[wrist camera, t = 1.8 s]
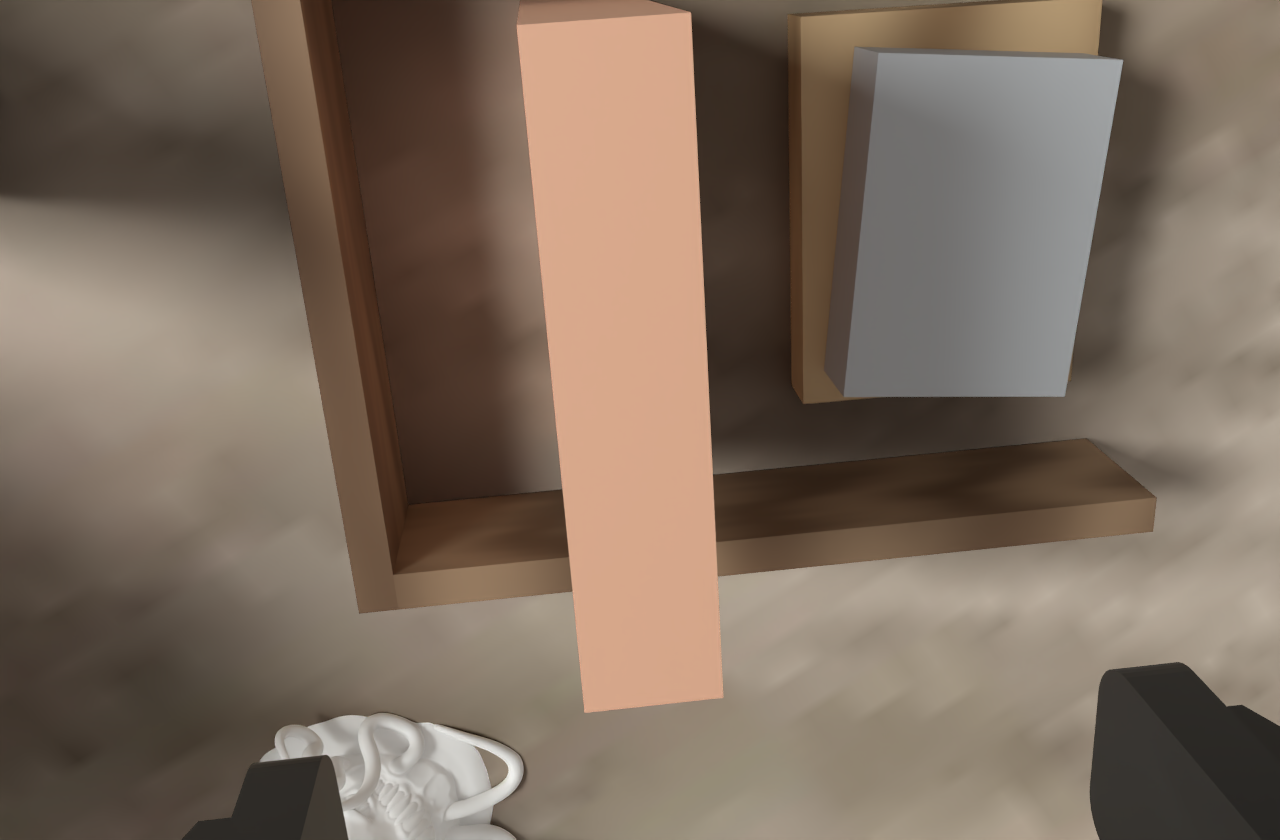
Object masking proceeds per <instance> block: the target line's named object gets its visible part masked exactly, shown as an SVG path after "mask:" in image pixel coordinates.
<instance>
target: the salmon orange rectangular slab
mask: <svg viewBox="0 0 1280 840" xmlns="http://www.w3.org/2000/svg"><path fill="white" fill-rule="evenodd" d="M517 35H518V45H519V55H520V65H521V75H522V85H523V95H524V105H525V115H526V125H527V136H528V146H529V156H530V166H531V176H532V186H533V196H534V206H535V216H536V227H537V237H538V247H539V257H540V267H541V277H542V287H543V297H544V307H545V317H546V328H547V338H548V348H549V358H550V368H551V378H552V388H553V398H554V408H555V419H556V429H557V439H558V449H559V459H560V469H561V479H562V489H563V499H564V509H565V520H566V530H567V540H568V550H569V560H570V570H571V580H572V590H573V600H574V611H575V621H576V631H577V641H578V651H579V661H580V671H581V681H582V691H583V701H584V712H585V713H588V712H597V711H606V710H615V709H624V708H633V707H643V706H652V705H661V704H670V703H679V702H688V701H697V700H707V699H716V698H723V681H722V659H721V638H720V617H719V596H718V575H717V553H716V532H715V511H714V490H713V469H712V447H711V426H710V405H709V384H708V363H707V341H706V320H705V299H704V278H703V256H702V235H701V214H700V193H699V172H698V150H697V129H696V108H695V87H694V66H693V44H692V23H691V12H688V11H685V10H681V9H677V8H674V7H670V6H667V5H663V4H660V3H656V2H653V1H649V0H520V6H519V13H518V19H517Z"/></svg>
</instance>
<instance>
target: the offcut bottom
mask: <svg viewBox="0 0 1280 840" xmlns="http://www.w3.org/2000/svg"><path fill="white" fill-rule="evenodd" d="M1101 11H1102V0H999V1H983V2H968V3H953V4H937V5H922V6H907V7H891V8H876V9H861V10H845V11H830V12H815V13H799V14H788V99H789V191H790V284H791V376H792V387H793V388H794V390H795V392H796V393H797V395H798V396H799V398H800V400H801V401H802V403H803V404H810V403H822V402H834V401H845V400H857V399H868V398H880V397H843V395H842V394H841V393H840V391H839V390H838V389H837V387H836V386H835V385H834V383H833V382H832V381H831V379H830V378H829V377H828V375H827V374H826V372H825V371H824V365H825V354H826V343H827V333H828V322H829V312H830V301H831V290H832V280H833V269H834V258H835V248H836V237H837V227H838V216H839V205H840V195H841V184H842V174H843V163H844V152H845V142H846V131H847V121H848V110H849V99H850V89H851V78H852V67H853V57H854V47H883V48H918V49H953V50H988V51H1023V52H1058V53H1085V54H1091V55H1097V56H1098V47H1099V35H1100V23H1101ZM1073 350H1074V346H1073ZM1072 363H1073V352H1072V358H1071V364H1070V369H1069V375H1068V381H1071V375H1072Z"/></svg>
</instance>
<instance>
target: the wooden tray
mask: <svg viewBox="0 0 1280 840" xmlns="http://www.w3.org/2000/svg"><path fill="white" fill-rule="evenodd" d="M251 2H252V8H253V13H254V19H255V25H256V30H257V36H258V42H259V47H260V53H261V59H262V64H263V70H264V76H265V81H266V87H267V93H268V98H269V104H270V110H271V116H272V121H273V127H274V133H275V138H276V144H277V150H278V155H279V161H280V167H281V172H282V178H283V184H284V189H285V195H286V201H287V206H288V212H289V218H290V223H291V229H292V235H293V240H294V246H295V252H296V257H297V263H298V269H299V274H300V280H301V286H302V291H303V297H304V303H305V308H306V314H307V320H308V325H309V331H310V337H311V342H312V348H313V354H314V359H315V365H316V371H317V376H318V382H319V388H320V394H321V399H322V405H323V411H324V416H325V422H326V428H327V433H328V439H329V445H330V450H331V456H332V462H333V467H334V473H335V479H336V484H337V490H338V496H339V501H340V507H341V513H342V518H343V524H344V530H345V535H346V541H347V547H348V552H349V558H350V564H351V569H352V575H353V581H354V586H355V592H356V598H357V603H358V609H359V613H368V612H378V611H387V610H397V609H407V608H416V607H426V606H436V605H446V604H455V603H465V602H475V601H484V600H494V599H504V598H513V597H523V596H533V595H542V594H552V593H562V592H572V591H573V590H572V580H571V570H570V560H569V550H568V540H567V530H566V520H565V509H564V499H563V490H555V491H545V492H535V493H524V494H514V495H504V496H494V497H483V498H473V499H463V500H453V501H443V502H432V503H422V504H412V505H408V500H407V493H406V487H405V480H404V474H403V467H402V461H401V454H400V447H399V441H398V434H397V428H396V421H395V415H394V408H393V402H392V395H391V389H390V382H389V375H388V369H387V362H386V356H385V349H384V343H383V336H382V330H381V323H380V316H379V310H378V303H377V297H376V290H375V284H374V277H373V271H372V264H371V258H370V251H369V244H368V238H367V231H366V225H365V218H364V212H363V205H362V199H361V192H360V186H359V179H358V172H357V166H356V159H355V153H354V146H353V140H352V133H351V127H350V120H349V114H348V107H347V100H346V94H345V87H344V81H343V74H342V68H341V61H340V55H339V48H338V41H337V35H336V28H335V22H334V15H333V9H332V2H331V0H251ZM713 490H714V511H715V532H716V553H717V575H718V576H727V575H736V574H746V573H756V572H765V571H775V570H785V569H795V568H804V567H814V566H824V565H833V564H843V563H853V562H862V561H872V560H882V559H892V558H901V557H911V556H921V555H930V554H940V553H950V552H959V551H969V550H979V549H988V548H998V547H1008V546H1018V545H1027V544H1037V543H1047V542H1056V541H1066V540H1076V539H1085V538H1095V537H1105V536H1115V535H1124V534H1134V533H1144V532H1153V527H1154V518H1155V508H1156V499H1157V498H1156V497H1155V496H1154V495H1153V494H1152V493H1151V492H1149V491H1148V490H1147V489H1146V488H1145V487H1143V486H1142V485H1141V484H1140V483H1139V482H1138V481H1136V480H1135V479H1134V478H1133V477H1132V476H1130V475H1129V474H1128V473H1127V472H1126V471H1124V470H1123V469H1122V468H1121V467H1120V466H1119V465H1117V464H1116V463H1115V462H1114V461H1113V460H1111V459H1110V458H1109V457H1108V456H1107V455H1105V454H1104V453H1103V452H1102V451H1101V450H1100V449H1098V448H1097V447H1096V446H1095V445H1094V444H1092V443H1091V442H1090V441H1089V440H1088V439H1087V438H1086V439H1076V440H1066V441H1056V442H1046V443H1035V444H1025V445H1015V446H1005V447H994V448H984V449H974V450H964V451H954V452H943V453H933V454H923V455H913V456H902V457H892V458H882V459H872V460H862V461H851V462H841V463H831V464H821V465H811V466H800V467H790V468H780V469H770V470H759V471H749V472H739V473H729V474H719V475H713Z"/></svg>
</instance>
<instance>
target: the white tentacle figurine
mask: <svg viewBox="0 0 1280 840" xmlns="http://www.w3.org/2000/svg"><path fill="white" fill-rule="evenodd" d="M473 745H474V746H477V747H480V748H482V749H485V750H487V751H489V752H491V753H493V754H495V755H497V756H498V757H500V758H501V759H503V760H504V761H505V762H506V764H507V765H508V769H509V772H508V775H507V777H506V778H505V779H504V780H503V781H502V782H501V783H500V784H498V785H497V786H495V787H494V788H491V784H490V780H489V776H488V772H487V769H486V767H485V764H484V762H483V760H482V757H481V755H480V754H479V752H478V751H477V749H476V748H475V747H474V746H473ZM275 746H276V748H274V749H272V750H270V751H269V752H267V753H266V754H265V755H264V756H263V757H262V758H261V760H260V762H266V761H275V760H284V759H293V758H302V757H311V756H320V755H328V756H329V757H330V758H331V760H332V763H333V766H334V769H335V774H336V778H337V783H338V789H339V794H340V799H341V804H342V809H343V814H344V819H345V824H346V829H347V834H348V839H349V840H517V839H516V838H515V837H514V836H513V835H512V834H511V833H509V832H508V831H506V830H505V829H503V828H501V827H498V826H495V825H490V821H491V817H492V811H493V805H495V804H497V803H499V802H500V801H502V800H503V799H505V798H506V797H508V796H509V795H510V794H511V793H512V792H513V791H514V790H515V789H516V788H517V787H518V785H519V784H520V782H521V780H522V777H523V772H524V767H523V762H522V759H521V757H520V756H519V755H518V754H517V753H516V752H515V751H514V750H512V749H511V748H509V747H507V746H505V745H503V744H501V743H499V742H497V741H494V740H491V739H488V738H485V737H481V736H477V735H473V734H470V733H466V732H463V731H459V730H456V729H453V728H450V727H447V726H444V725H440V724H436V725H434V724H432V723H429V722H425V723H415V722H412V721H410V720H408V719H406V718H404V717H401V716H398V715H395V714H390V713H376V714H373V715H371V716H369V717H365V716H358V715H347V716H341V717H337V718H333V719H331V720H328V721H325V722H322V723H318V724H314V725H311V726H308V727H305V726H302V725H287V726H284V727H282V728H281V729H280V730H279V731H278V732H277V733H276V736H275Z"/></svg>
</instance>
